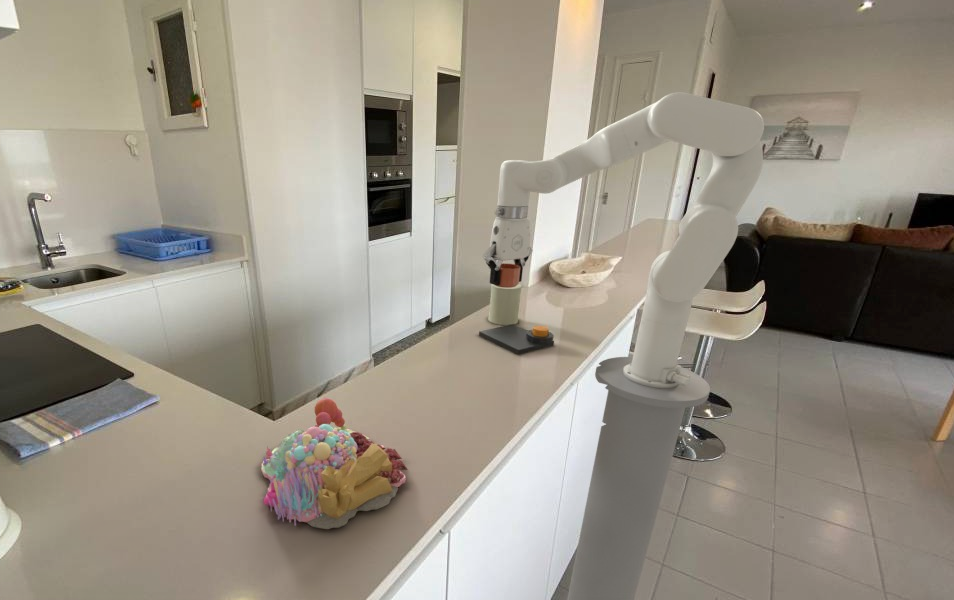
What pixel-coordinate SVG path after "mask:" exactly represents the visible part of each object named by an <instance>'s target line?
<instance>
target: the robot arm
mask: <svg viewBox="0 0 954 600" xmlns="http://www.w3.org/2000/svg"><path fill="white" fill-rule="evenodd" d="M764 131H765V121H764V119H763V117H762V115H761V114H760V112H758V111H757V110H755V109H753V108H751V107H748V106H744V105H739V104H735V103H731V102H727V101H722V100H718V99H714V98H709V97H705V96H701V95H698V94H693V93H689V92H685V91H675V92H670V93H669V94H666V95H664V96H663V97H661V98H660V99H659V100H657V101H656V102H654V103H651V104H650V105H648V106H646V107H644V108H642V109H640V110H637V111H636V112H634V113H631V114H629V115H627V116H625V117H624V118H621V119H619V120H617V121H615V122H614V123H613V122H612V123H611V124H609V125H607V126H605V127H603V128H602V129H599V130H598V131H597V132H596V133H594V134H592V136H591V137H589V138H587V139H586V140H584V141H582V142H581V143H580V144H578V145H576V146H574V147H572V148H569V149H568V150H565V151H563V152H562V153H559V154H557V155H556V156H554V157H551V158H548V159H541V160H534V161H529V160H526V159H525V160H524V159H523V160H522V159H511V160H510V159H508V160H505V161H503V162H502V163H501V164H500V169H499V180H498V192H497V206H496V209H495V210H494V215H495V218H494V221H493V225H492V229H491V234H490V240H489V248H488V249H486V251H485V252H484V253H483V254H482V258H483V260H484V262H485V263H486V265H487V266H488V269H490V271H489V272H490V274H489V284H490V285H491V284H493V285H496V286H498V285H500V275H501V270H499V268H500V266H501V264H502V263H503V262H504V261H505V262H506V261H513V264H516V265H519V266H520V277H519V283H521V282H522V279H523V269H524V267H525V266H526V263H527V261H528V260H529V258H530V256H531V254H532V253H533V248H532V247H531V222H530V218H529V217H528V215H529V203H530V193H537V194H545V195H546V194H551V193H553V192H555V191H557V190H559V189H561V188H564V187H565V186H567V185H570V184H572V183H574V182H576V181H578V180H580V179H583V178H585V177H587V176H589V175H592V174H594V173H596V172H599V171H603V170H607V169H610V168H613V167H615V166H618V165H620V164H622V163H624V162H627V161H628V160H631V159H633V158H635V157H637V156H640V155H641V154H644V153H645V152H648V151H651V150H653V149H655V148H658V147H660V146H662V145H664V144H667V143H668V142H670V141H671V142H673V143H678V144H681V145H684V146H687V147H691V148H694V149H695V148H696V149H699V150H703V151H707V152H709V153H710V154H711V157H712V165H711V170H710V172H709V174H708V176H707V178H706V179H705V182H704V183H703V185H702V187H701V188H700V191H699V192H698V194H697V195H696V197H695V199H694V201H693V202H692V204H691V205H690V206H689V208H688V209H687V211H686V213H685V214H684V215H683V217H682V218H681V220H680V222H679V226H678V234H679V235H678V237H676V238H677V239H676V240H675V242H674V243H673V245H672V247H671V248H670V249H669V250H666V251H664V252H662V253H660V254H659V255H658V256H657V257H656V258H655V259H654V260H653V262H652V264H651V266H650V268H649V269H650V270H649V273H648V280H647V285H646V286H647V287H646V293H645V298H644V304H643V308H642V313H641V316H640V317H641V318H640V322H639V327H638V331H637V336H636V340H635V346H634V350H633V355H632V357H633V359H632V364H628V365H626V366H625V367H624V368H623V374H624V375H625V376H626V377H627V378H628V379H630V380H631V381H633V382H636V383H638V384H641V385H644V386H649V387H655V388H672V387H675V386H678V385H679V384H681V385H683V386H688V384H689V382H690V376H689V375H687V374H683V373H681V371H680V368H681V367H682V365H681V364H678V361H679V357H680V354H681V353H680V352H681V349H682V345H683V342H684V341H683V340H684V337H685V334H686V328H687V326H688V322H689V318H690V314H691V309H692V304H693V299H694V298H695V297H697V296H698V295H699V294H700V293H701V292H702V291H703V290H704V288H705V287H706V286H707V285H708V283H709V281H710V280H711V279H712V277H713V276H714V274H715V273H716V271H717V270H718V268H719V267H720V266H721V264H722V263H723V261H724V260H725V258H726V257H727V256H728V254H729V252H730V251H731V249H732V248H733V246H734V244H735V242H736V239H737V237H738V234H739V222H738V220H737V216H738V214H739V212H740V211H741V209H742V208H743V206H744V204H745V203H746V202H747V200H748V197H750V194H751V193H752V191H753V189H754V187H755V186H756V184H757V182H758V180H759V177H760V175H761V173H762V169H763V163H764V151H763V144H762V141H761V139H762V136H763V135H764Z"/></svg>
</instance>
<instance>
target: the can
mask: <svg viewBox="0 0 954 600" xmlns="http://www.w3.org/2000/svg"><path fill="white" fill-rule="evenodd" d="M490 285H491V286H490V298H489V299H490V300H489V309H488V310H489V311H488V318H487V320H488V321H489V322H490V323H492V324H495V325H499V326H507V325H511V324H514V325H516V324H518V322H519V311H520V301H521V293H522V286H523V285H522V284H521V283H519V284H518V285H517V286H516V287H512V288H503V287H498V286H495V285H493V284H490Z"/></svg>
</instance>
